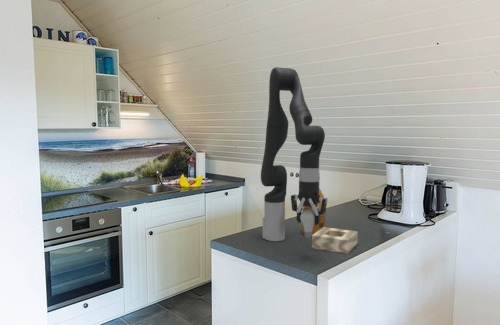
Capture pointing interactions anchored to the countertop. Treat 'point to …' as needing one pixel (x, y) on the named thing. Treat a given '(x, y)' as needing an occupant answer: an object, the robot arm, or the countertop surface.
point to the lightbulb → (308, 221)
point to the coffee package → (322, 217)
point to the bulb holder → (334, 240)
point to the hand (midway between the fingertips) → (308, 223)
